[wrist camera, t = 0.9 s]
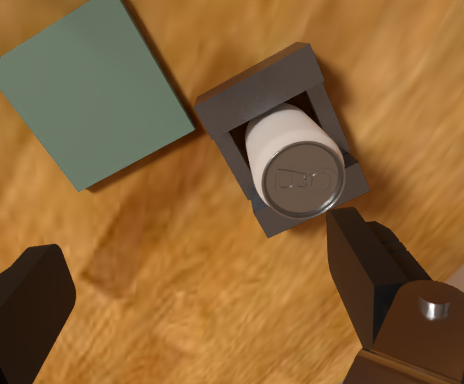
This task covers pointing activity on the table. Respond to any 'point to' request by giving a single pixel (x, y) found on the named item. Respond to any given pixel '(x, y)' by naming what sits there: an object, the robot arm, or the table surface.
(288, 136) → the can
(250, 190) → the block
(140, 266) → the table surface
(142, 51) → the mat
